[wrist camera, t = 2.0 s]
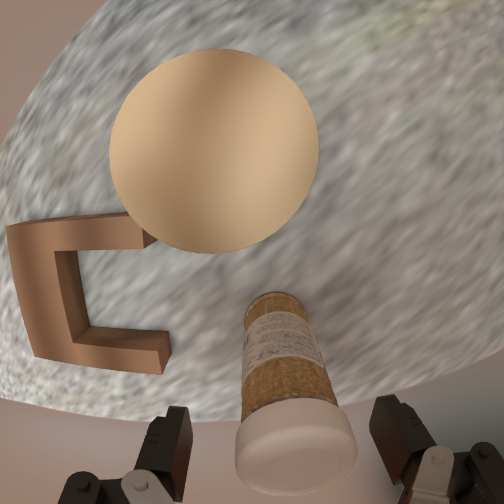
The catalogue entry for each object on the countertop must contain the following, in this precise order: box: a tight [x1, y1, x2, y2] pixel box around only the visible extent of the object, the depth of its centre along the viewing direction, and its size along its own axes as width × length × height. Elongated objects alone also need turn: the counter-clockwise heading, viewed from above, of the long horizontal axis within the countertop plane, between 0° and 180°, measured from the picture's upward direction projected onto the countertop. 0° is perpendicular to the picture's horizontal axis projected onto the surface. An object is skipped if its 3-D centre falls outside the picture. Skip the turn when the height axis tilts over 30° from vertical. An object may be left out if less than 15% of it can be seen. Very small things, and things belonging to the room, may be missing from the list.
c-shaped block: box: [6, 212, 172, 375], centre depth 20 cm, size 12×11×3 cm
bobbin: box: [109, 49, 319, 254], centre depth 15 cm, size 8×8×9 cm
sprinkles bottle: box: [235, 293, 358, 496], centre depth 15 cm, size 5×5×14 cm
